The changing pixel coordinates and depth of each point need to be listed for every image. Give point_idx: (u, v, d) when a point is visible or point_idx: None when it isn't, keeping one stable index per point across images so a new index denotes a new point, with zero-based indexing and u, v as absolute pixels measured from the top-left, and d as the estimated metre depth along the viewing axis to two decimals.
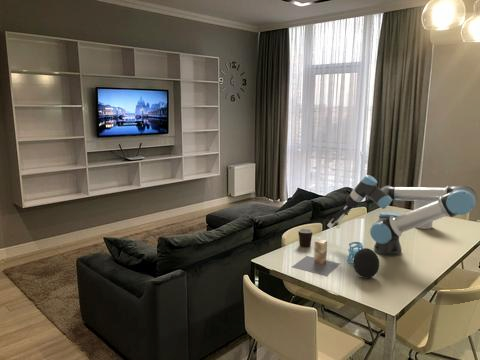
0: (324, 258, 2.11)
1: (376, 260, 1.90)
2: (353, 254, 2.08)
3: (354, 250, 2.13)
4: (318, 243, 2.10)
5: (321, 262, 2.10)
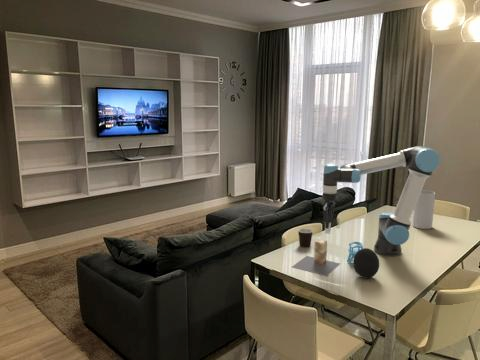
0: (324, 258, 2.11)
1: (376, 260, 1.90)
2: (353, 254, 2.08)
3: (354, 250, 2.13)
4: (318, 243, 2.10)
5: (321, 262, 2.10)
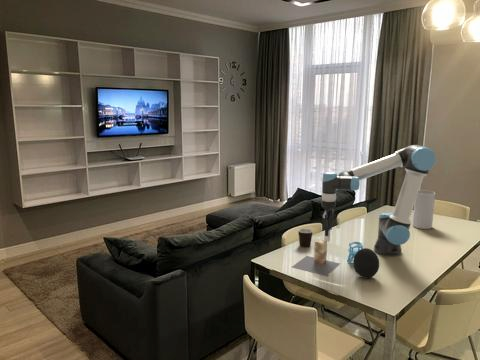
0: (324, 258, 2.11)
1: (376, 260, 1.90)
2: (353, 254, 2.08)
3: (354, 250, 2.13)
4: (318, 243, 2.10)
5: (321, 262, 2.10)
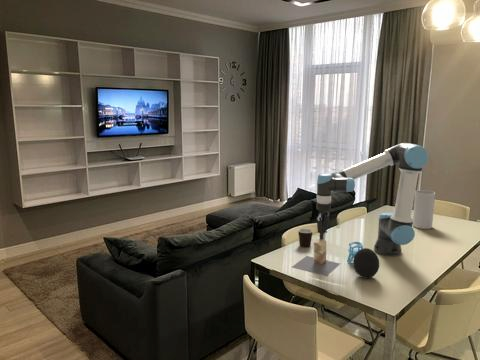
0: (324, 258, 2.11)
1: (376, 260, 1.90)
2: (353, 254, 2.08)
3: (354, 250, 2.13)
4: (317, 244, 2.09)
5: (321, 262, 2.10)
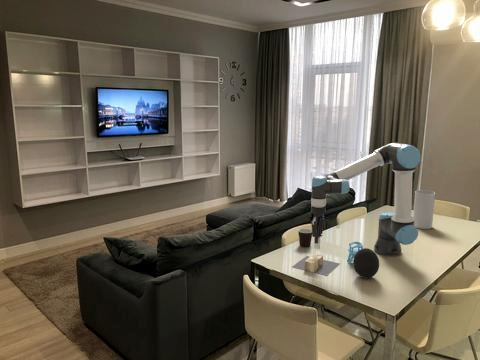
0: (320, 262, 2.08)
1: (376, 260, 1.90)
2: (353, 254, 2.08)
3: (354, 250, 2.13)
4: None
5: None
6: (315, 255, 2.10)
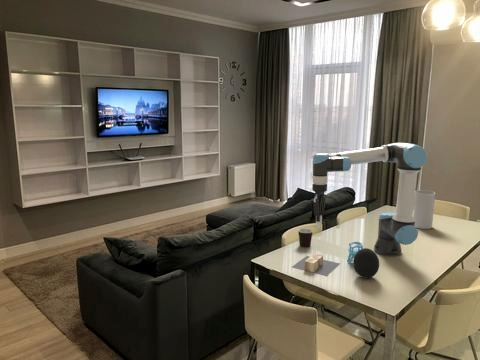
0: (320, 262, 2.08)
1: (376, 260, 1.90)
2: (353, 254, 2.08)
3: (354, 250, 2.13)
4: None
5: None
6: (315, 255, 2.10)
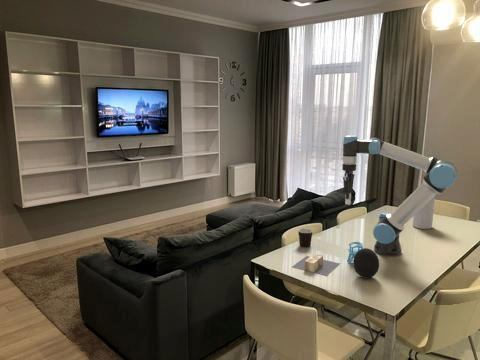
0: (320, 262, 2.08)
1: (376, 260, 1.90)
2: (353, 254, 2.08)
3: (354, 250, 2.13)
4: None
5: None
6: (315, 255, 2.10)
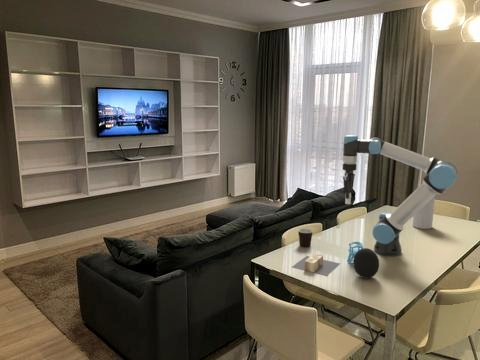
0: (320, 262, 2.08)
1: (376, 260, 1.90)
2: (353, 254, 2.08)
3: (354, 250, 2.13)
4: None
5: None
6: (315, 255, 2.10)
